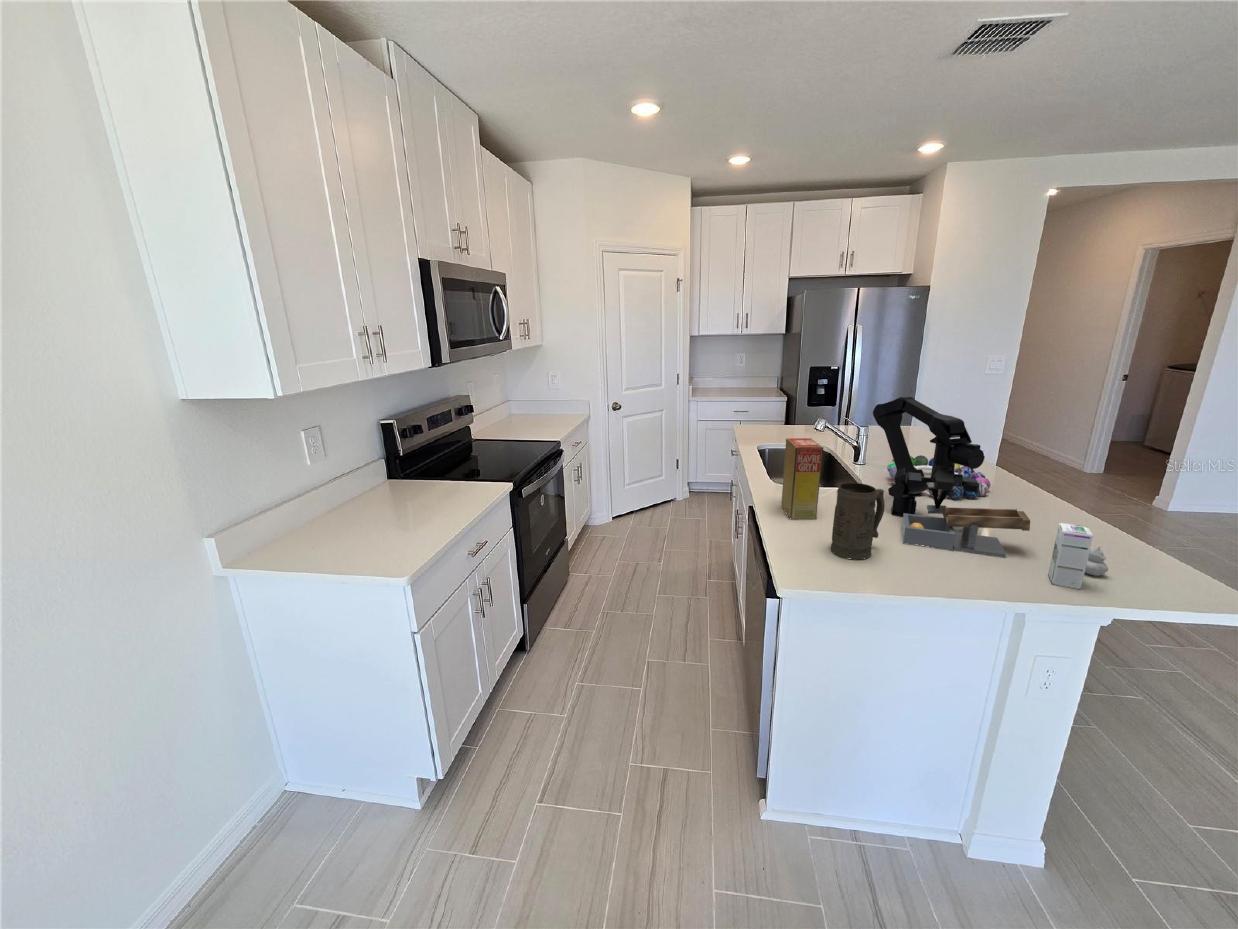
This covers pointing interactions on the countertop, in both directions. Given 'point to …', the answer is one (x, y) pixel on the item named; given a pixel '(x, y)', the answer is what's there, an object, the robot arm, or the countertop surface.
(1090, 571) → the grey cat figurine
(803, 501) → the food packaging
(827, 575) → the countertop surface
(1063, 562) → the syrup box
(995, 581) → the countertop surface
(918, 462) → the decorated egg ring holder
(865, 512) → the beer stein
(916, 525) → the ball
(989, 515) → the tipping lever
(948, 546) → the grey open tray
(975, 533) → the lever stand
